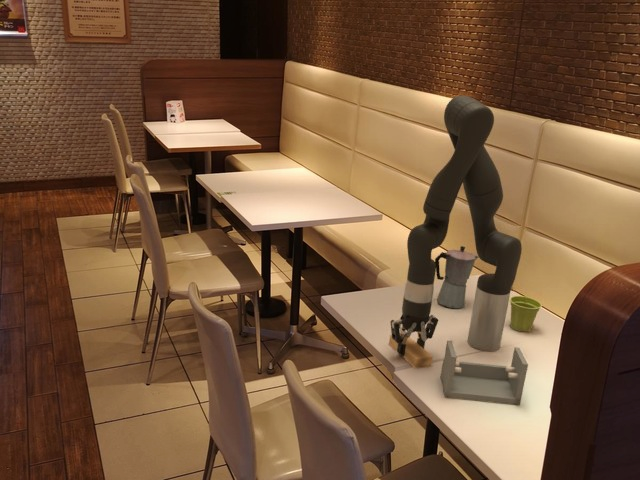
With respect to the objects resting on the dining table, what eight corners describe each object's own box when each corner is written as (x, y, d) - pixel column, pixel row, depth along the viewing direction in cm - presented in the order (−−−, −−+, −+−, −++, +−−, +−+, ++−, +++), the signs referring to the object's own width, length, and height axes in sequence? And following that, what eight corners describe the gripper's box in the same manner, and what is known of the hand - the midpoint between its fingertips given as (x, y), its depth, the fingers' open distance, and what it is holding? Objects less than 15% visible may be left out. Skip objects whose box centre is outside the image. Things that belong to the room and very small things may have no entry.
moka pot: (477, 308, 207) (488, 250, 201) (437, 312, 201) (446, 252, 195) (461, 296, 215) (470, 240, 209) (422, 299, 210) (430, 242, 203)
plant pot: (512, 318, 202) (517, 293, 199) (540, 328, 196) (546, 302, 193) (499, 326, 195) (504, 301, 192) (529, 337, 189) (534, 311, 186)
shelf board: (404, 342, 180) (405, 332, 179) (431, 366, 168) (432, 356, 167) (388, 344, 178) (390, 334, 177) (415, 369, 166) (416, 359, 165)
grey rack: (440, 377, 163) (446, 338, 159) (510, 384, 162) (518, 345, 159) (445, 397, 154) (451, 356, 150) (519, 404, 153) (528, 364, 150)
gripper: (433, 288, 173) (424, 344, 179) (387, 292, 168) (380, 350, 173) (448, 299, 167) (439, 356, 172) (402, 304, 161) (394, 363, 166)
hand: (409, 353), depth 173 cm, fingers closed on shelf board, 5 cm apart
